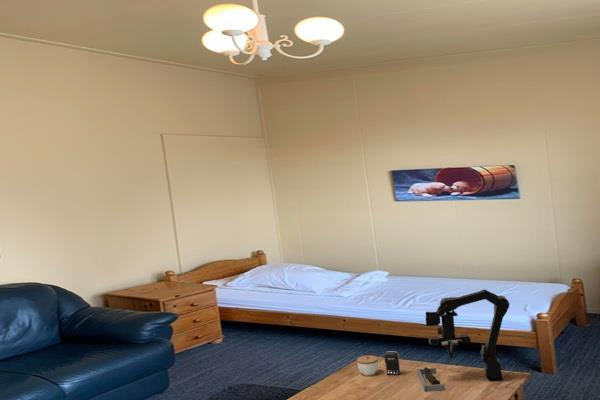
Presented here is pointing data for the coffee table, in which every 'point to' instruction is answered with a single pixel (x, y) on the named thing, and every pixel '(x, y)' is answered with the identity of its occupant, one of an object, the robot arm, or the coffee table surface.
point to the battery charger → (392, 363)
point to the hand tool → (430, 377)
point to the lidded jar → (368, 365)
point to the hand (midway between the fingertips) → (450, 357)
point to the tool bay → (430, 387)
